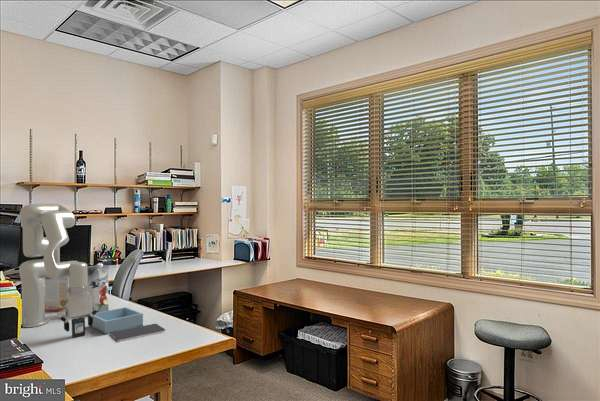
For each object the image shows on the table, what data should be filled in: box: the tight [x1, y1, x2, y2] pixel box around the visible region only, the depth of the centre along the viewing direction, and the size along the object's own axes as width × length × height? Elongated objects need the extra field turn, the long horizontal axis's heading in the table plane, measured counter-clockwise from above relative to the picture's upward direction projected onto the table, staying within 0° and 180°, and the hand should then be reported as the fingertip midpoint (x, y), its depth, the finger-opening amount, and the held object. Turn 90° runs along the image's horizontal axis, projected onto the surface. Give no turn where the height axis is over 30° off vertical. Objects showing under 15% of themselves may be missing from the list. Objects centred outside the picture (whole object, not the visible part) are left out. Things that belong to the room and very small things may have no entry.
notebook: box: [109, 323, 166, 342], centre depth 192 cm, size 13×2×21 cm
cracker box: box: [44, 277, 69, 312], centre depth 232 cm, size 14×6×21 cm, turn 84°
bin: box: [89, 306, 144, 336], centre depth 203 cm, size 18×18×6 cm
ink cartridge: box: [71, 317, 86, 339], centre depth 188 cm, size 5×2×8 cm, turn 131°
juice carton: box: [87, 262, 110, 313], centre depth 225 cm, size 9×10×27 cm
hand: (78, 328), depth 188 cm, fingers open, 9 cm apart
